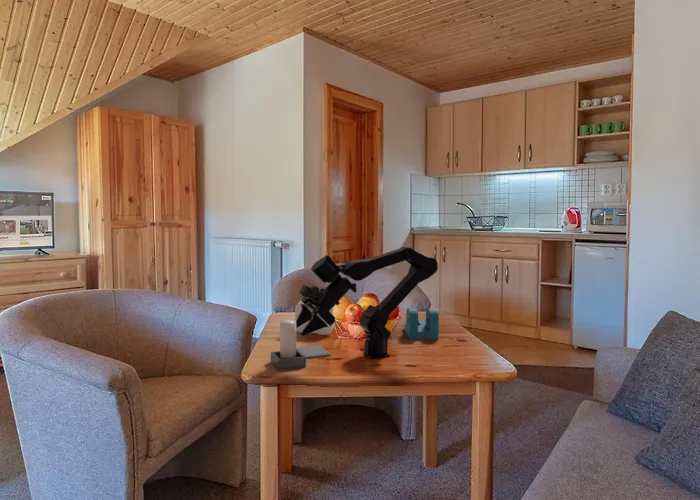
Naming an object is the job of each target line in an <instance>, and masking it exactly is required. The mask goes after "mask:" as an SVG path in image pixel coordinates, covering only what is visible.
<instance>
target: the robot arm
mask: <svg viewBox="0 0 700 500" xmlns="http://www.w3.org/2000/svg"><path fill="white" fill-rule="evenodd" d="M402 262H406V263H407V264H409V269H408V272H407V274H405V276H404V277H403V278H402V279H401V280H400V281H399V282H398V284H397V285H396V286H395V287H394V288H393V289H392V290H391V291H390V292H389V293H388V294H387V295H386V296H385V297H384V299H383V300H382V301H381V302H380V303H379V304H377V305H376V306H374V305H372V304H370V305H368V306H367V308H366V309H365V310H364V311H362V312H361V316H360V318H359V325H360V328H362V329H363V330H364V334H367V335H365V340H364V351H363V354H364V355H366V356H367V357H369V358H371V359H379V358H386V357H390V356H391V355H390V353H388V342H389V339H390V338H391V337H390V336H391V334H392V332H391V331H390V330H389V329H388V328H387V327H386V325H387V324H388V321H389V318H390V316H391V314H392V313H393V312H394V311H395V309H397V307H399V305H400V304H401V303H402V302H403V301H404V300H405V299H406V297H407V296H409V295H410V294H411V292H412V291H413V290H414V289H415V288H416V287H417V286H418V285H419V284H420V283H422V282H424V281H425V280H428V279H429V278H430V277H432V276H433V275H434V274H436V273H437V271H438V269H439V267H438V266H439V263H438V261H437V259H435V258H434V257H431V256H426V255H424V254H422V253H421V252H418V251H416V250H414V249H413V248H412V247H410V246H409V247H408V246H401V247H399V248H396V249H395V250H390V251H387V252H385V253H382V254H379V255H377V256H373V257H369V258H359V259H350V260H348V261H346V262H345V264H340V265H339V264H338V265H337V264H336V262H334V260H333V259H332V257H331V256H330V255H328V254H325V255H324V256H323V257H322V258H320V259H318V260H317V261H316V262H314V263H313V265H312V266H311V268H310V271H311V272H312V273H313V274H314V275H315V276H317V278H318V279H319V280H320V281H321V282H322V283H323V284H326V283H328V285H327V286H326V287H325V288H324V287H321V288H319V287H317V286H315V285H312V286H310V285H307V284H305V283H303V284H302V286H301V288H300V291H299V293H298V294H300V295H301V296H303V298H302V299H300V301H301V302H302V303H303V304H302V303H301V312H300V314H299V316H298V318H297V320H296V328H297V327H299V326H301V325H303V324H304V323H306V322H308V321H309V320H310V321H309V322H308V324H307V325H306V326H305V328H304V329H303V331H302V332H301V333H300V335H302V337H303V336H307V335H310V334H309V333H311V334H313V333H312V332H314V331H316V330H319V329H321V328H324V327H328V325H330V326H331V325H332V324H333V323H334V322H335V317H334V316H333V315H332V314H331V313H330V312H329V311H330V310H331V309H332V308H333V307H334V306H335V305H336V306H339V305H340V300H341V299H342V298H343V297H344V296H345V295H346V294H347V293H348V292H349V291H351V292H352V293H357V284H356V283H355V282H351V281H350V280H353V281H356V282H359V281H363V280H364V279H366V278H367V277H370V276H371V275H372V274H373V273H374V272H377V271H378V270H381V269H384V268H387V267H390V266H393V265H395V264H399V263H402ZM340 274H341V275H344V277H342V276H341V275H340ZM349 279H350V280H349ZM327 324H328V325H327Z"/></svg>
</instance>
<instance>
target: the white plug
mask: <svg viewBox="0 0 700 500" xmlns="http://www.w3.org/2000/svg"><path fill="white" fill-rule="evenodd" d="M296 348H297V331H296V321H295V319H294V320H293V319H284V320H280V322H279V351H280V359H287V358H295V357H296Z"/></svg>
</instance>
